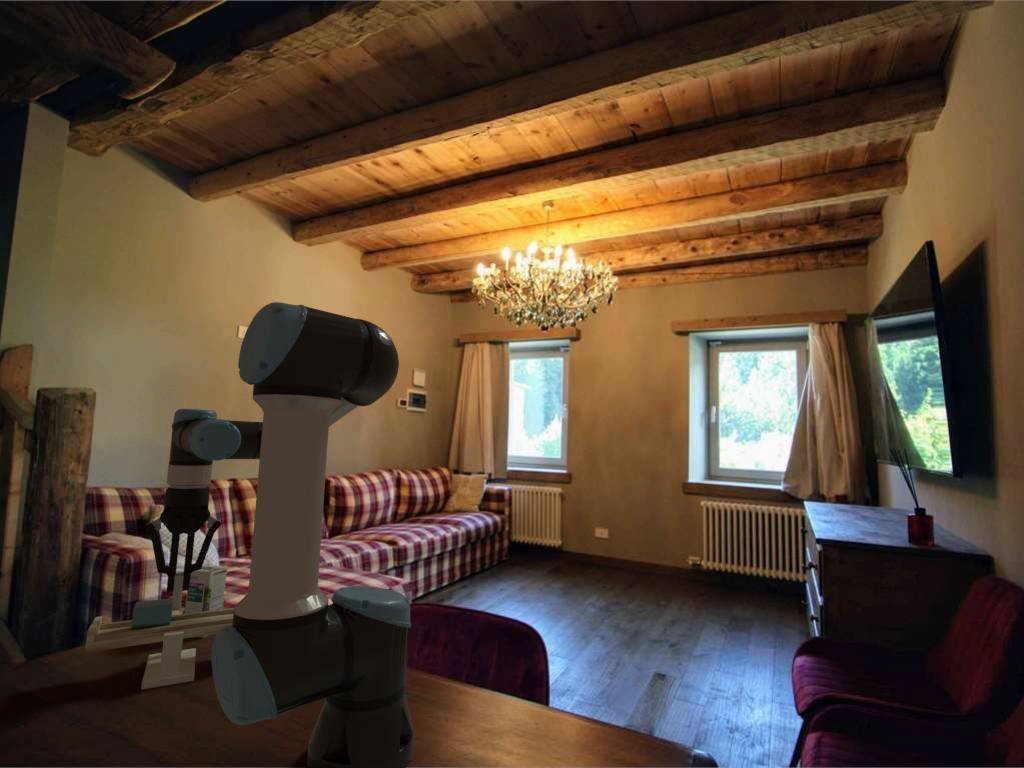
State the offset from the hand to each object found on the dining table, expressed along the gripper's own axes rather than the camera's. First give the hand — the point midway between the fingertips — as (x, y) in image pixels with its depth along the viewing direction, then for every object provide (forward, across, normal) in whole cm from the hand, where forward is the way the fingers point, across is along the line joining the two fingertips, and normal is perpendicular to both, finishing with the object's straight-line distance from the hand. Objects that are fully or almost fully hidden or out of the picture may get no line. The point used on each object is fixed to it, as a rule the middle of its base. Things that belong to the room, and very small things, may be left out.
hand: (176, 608), depth 100 cm
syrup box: (+12, -5, -19) cm, 23 cm away
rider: (+3, +4, 0) cm, 5 cm away
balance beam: (+8, 0, 0) cm, 8 cm away
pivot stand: (+12, 0, 0) cm, 12 cm away
